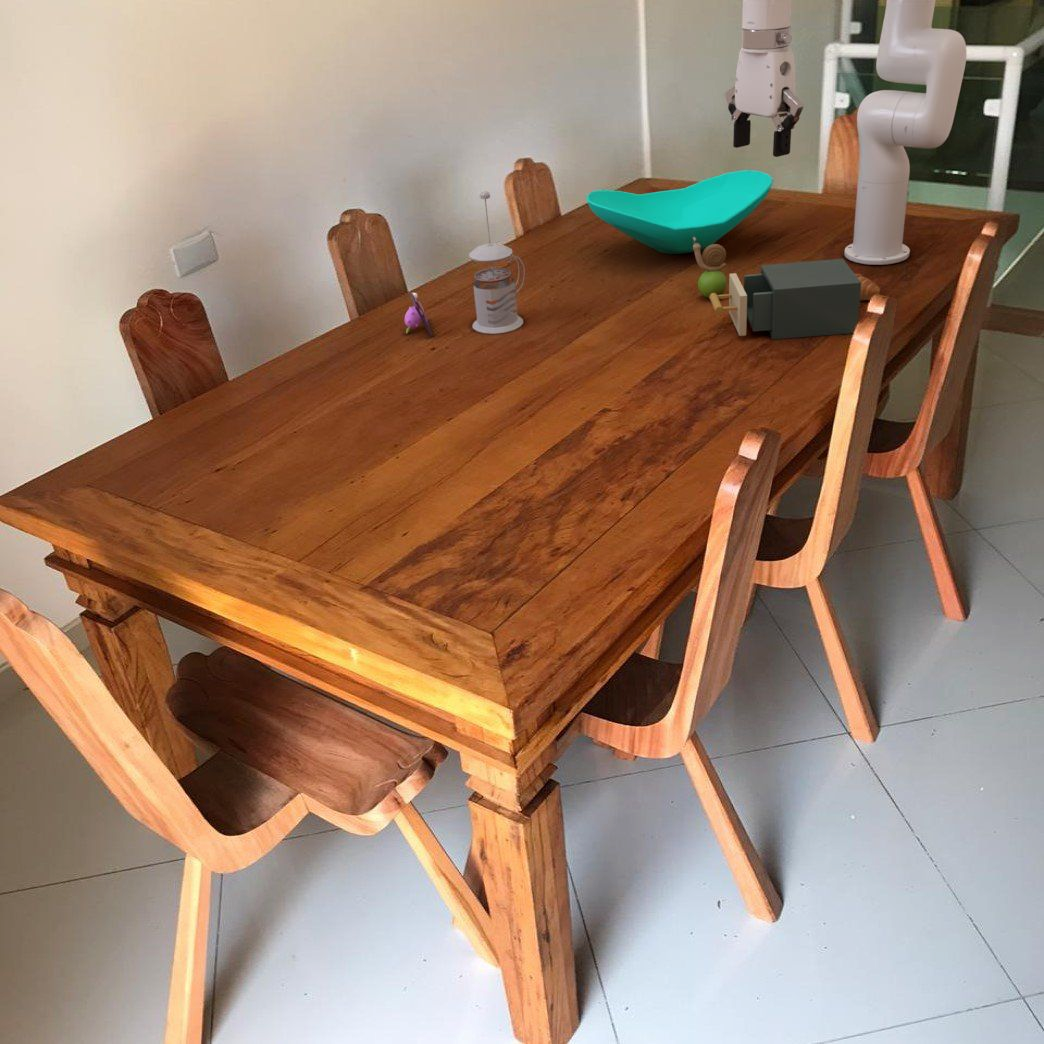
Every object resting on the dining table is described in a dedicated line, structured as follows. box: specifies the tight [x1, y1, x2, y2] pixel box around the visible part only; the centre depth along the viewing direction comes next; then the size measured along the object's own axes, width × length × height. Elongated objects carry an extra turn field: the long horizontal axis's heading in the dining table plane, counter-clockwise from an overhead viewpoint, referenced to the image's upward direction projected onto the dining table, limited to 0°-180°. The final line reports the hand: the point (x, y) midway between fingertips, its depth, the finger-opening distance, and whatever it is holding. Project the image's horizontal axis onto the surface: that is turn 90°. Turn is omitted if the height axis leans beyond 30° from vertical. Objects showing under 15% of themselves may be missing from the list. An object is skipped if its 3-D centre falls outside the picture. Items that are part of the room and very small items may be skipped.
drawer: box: [708, 272, 774, 337], centre depth 194 cm, size 17×11×7 cm, turn 90°
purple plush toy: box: [404, 290, 434, 338], centre depth 208 cm, size 7×5×9 cm
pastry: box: [853, 272, 881, 302], centre depth 205 cm, size 9×7×4 cm
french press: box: [468, 190, 526, 335], centre depth 203 cm, size 10×12×25 cm
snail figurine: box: [693, 237, 728, 299], centre depth 208 cm, size 5×6×12 cm
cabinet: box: [760, 258, 861, 340], centre depth 194 cm, size 15×13×9 cm
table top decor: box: [586, 169, 774, 255], centre depth 233 cm, size 40×28×13 cm
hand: (761, 150), depth 183 cm, fingers open, 9 cm apart
